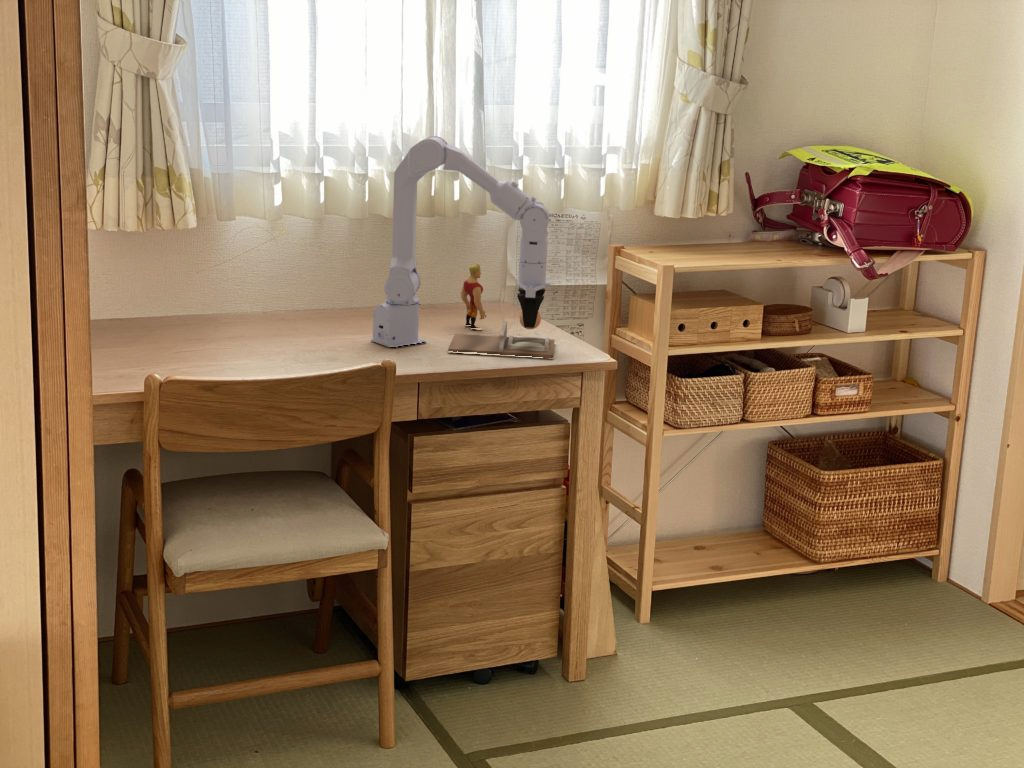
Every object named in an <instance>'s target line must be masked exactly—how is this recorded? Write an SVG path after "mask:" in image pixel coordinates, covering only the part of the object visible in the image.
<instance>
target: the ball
mask: <svg viewBox="0 0 1024 768" xmlns="http://www.w3.org/2000/svg"><path fill="white" fill-rule="evenodd" d="M541 322H542V315H541V313H540V311H538V314H537V319H536V324H535V327H534V328H528V327H524V322H523V314H522V311H521V312H520V314H519V323H520V325H521V326H522V327H523V328H524V329H526V330H535V329H536V328H537V327H539V326H540V324H541Z"/></svg>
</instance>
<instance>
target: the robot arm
mask: <svg viewBox="0 0 1024 768" xmlns="http://www.w3.org/2000/svg"><path fill="white" fill-rule="evenodd" d="M441 166H443V168H442V170H444V171H454V172H459V173H460V174H462V175H464V176H465V177H466V178H468V179H469V180H470V181H472V182H473V183H475V184H476V185H477V186H479V187H480V188H482V189H483V190H485V191H486V192H487V193H488V194H489V195H490V202H491V203H492V204H493V205H494V206H496V207H497V208H498V209H500V210H501V211H502V212H503V213H505V214H506V215H508V216H509V217H510V218H511V219H513V221H518V222H519V223H520V226H521V237H520V241H519V264H518V279H517V282H516V283H517V286H518V287H520V288H519V289H518V293H517V295H516V297H517V299H518V302H519V304H520V309H521V312H522V314H523V322H524V327H528V328H534V327H535V324H536V319H537V314H538V312H539V310H540V307H541V304H542V303H543V301H544V299H545V296H544V295H545V292H546V288H551V284H552V283H551V282H550V281H547V280H546V279H547V277H546V275H547V259H548V245H549V244H548V233H549V232H548V225H549V223H550V213H549V210H548V208H547V207H546V206H545V204H544V203H543V202H539V201H537V198H536V197H535V196H532V197H531V196H530V195H528V194H527V193H526V192H524V191H523V189H520V187H518V186H519V183H517V182H516V181H515V180H513V181H512V182H511V181H510V180H509V179H503V180H499V179H497V178H496V177H494V175H492V174H491V173H490V172H489V171H488V170H487V169H485V168H484V167H482V166H481V164H479V163H478V162H476V160H475V159H473V158H472V157H470V155H468V154H467V153H465V151H463V150H462V149H460V148H458V147H457V146H455V145H454V144H453V143H450V142H447V140H445V139H444V138H442V137H441V136H437V135H430V136H429V137H426V138H424V139H422V140H420V141H418V142H417V143H415V144H414V145H413V146H411V147H410V148H409V150H408V151H407V153H406V154H405V156H404V157H403V159H402V160H401V162H400V163H399V165H398V166H397V167H396V168H395V171H394V174H393V207H392V208H393V210H392V211H393V212H392V213H393V214H392V248H391V251H392V252H391V253H392V254H391V261H390V264H389V275H388V277H387V280H386V281H385V283H384V292H385V295H386V297H385V301H384V302H383V303H381V304H380V303H379V304H378V305H376V306H375V308H374V310H373V313H372V315H373V316H372V338H370V341H371V342H373V343H377V344H378V345H382V346H385V347H387V348H390V347H396V348H399V347H398V346H402V347H404V346H403V345H408V346H410V345H409V344H414V343H420V342H426V341H427V340H426V339H423V338H421V337H419V326H420V325H419V322H420V314H419V313H420V298H419V297H418V295H417V294H416V293H417V292H418V291H419V288H420V286H421V277H420V275H419V272H418V270H417V269H418V267H417V264H418V263H417V259H416V240H417V239H416V238H417V206H418V205H417V202H418V182H419V181H420V180H421V179H422V178H424V176H426V175H427V174H428V173H429V172H432V171H434V170H436V169H438V168H439V167H441ZM524 327H523V328H524ZM426 343H427V342H426Z"/></svg>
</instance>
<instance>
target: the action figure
mask: <svg viewBox="0 0 1024 768" xmlns="http://www.w3.org/2000/svg"><path fill="white" fill-rule="evenodd" d="M468 270H469V274H470V276H468V277H467V279H466V280H465V281H464V282H463V284H462V288H461V292H460V298H461V300H462V302H463V303H464V304H465V308H466V311H467V313H466V316H465V325H471V326H469V327H470V328H479V327H478V326H476V324H475V322H476V320H477V316H478V311H479V316H480V318H479V320H485V318H487V315H486V310H484V309H483V303H482V301H481V300H482V293H483V292H484V287H483V286H482V284H481V283H479V281H478V279H480V278H481V274H482V273H481V271H482V269H481V265H480V264H479V263H476V264H474V265H470V267H469V269H468ZM467 296H469V297H470V298H469V299H468V297H467ZM474 324H475V325H474ZM470 328H469V329H470Z"/></svg>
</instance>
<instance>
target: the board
mask: <svg viewBox="0 0 1024 768" xmlns="http://www.w3.org/2000/svg"><path fill="white" fill-rule="evenodd" d="M507 333H508V320H503V322H502V326H501V330H500V333H499V335H483V334H479V335H478V334H464V333H454V335H453V338H452V339H451V342H450V345H449V346H448V351H453V352H457V351H458V352H477V353H487V354H500V355H515V356H532V357H543V358H553V357H554V355H555V354H554V353H555V344H554V343H555V341H556V340H555V339H554V338H553V339H551V338H550V337H535V336H520V335H509V336H508V335H507ZM448 351H447V352H448ZM553 359H554V358H553Z"/></svg>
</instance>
